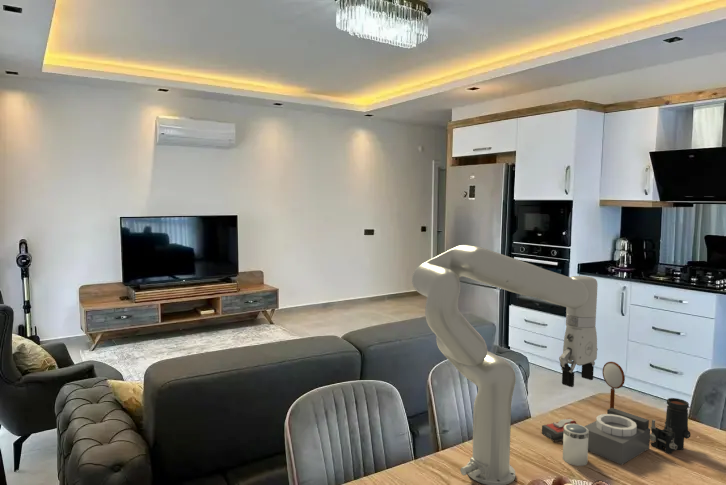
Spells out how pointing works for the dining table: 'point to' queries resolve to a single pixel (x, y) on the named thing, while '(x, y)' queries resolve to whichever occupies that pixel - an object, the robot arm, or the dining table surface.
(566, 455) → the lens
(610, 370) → the magnifying glass
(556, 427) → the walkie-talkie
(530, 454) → the dining table surface
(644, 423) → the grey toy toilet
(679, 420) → the scope
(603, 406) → the dining table surface
